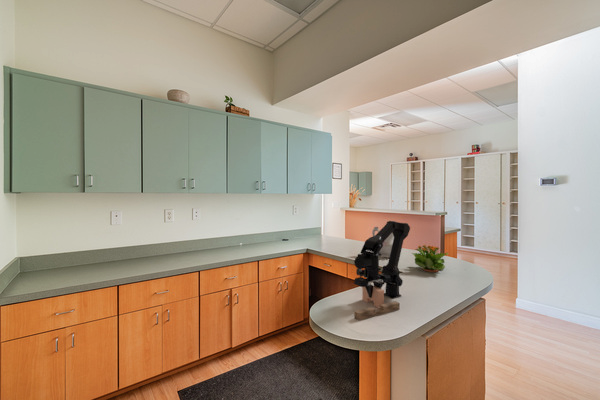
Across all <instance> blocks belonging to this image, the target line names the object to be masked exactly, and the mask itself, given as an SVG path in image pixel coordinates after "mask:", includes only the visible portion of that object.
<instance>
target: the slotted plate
mask: <svg viewBox="0 0 600 400" xmlns="http://www.w3.org/2000/svg"><path fill="white" fill-rule="evenodd" d="M361 288H362V289H361V291H362V293H361V294H362V295H361V296H362V300H363V301H364V302H366V303H369V302H373V306H375V308H377V309H379V308H380V305H382V304H385V295H384V293H385V290H384V289H382V288H381V289H380V288H377V287H375V286H374V285H373V292H372V297H371V298H369V295H368V293H367V290H366V288H365V287H361Z"/></svg>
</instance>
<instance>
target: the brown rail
mask: <svg viewBox="0 0 600 400" xmlns="http://www.w3.org/2000/svg"><path fill="white" fill-rule="evenodd" d="M398 310H400V302H398V301H397V300H395V301H391V302H387V303H384V304H382V305H380V308H374V307H372V306H370V307H366V308H361V309H357V310H355V311H354V316H353V317H354V319H355V320H356V321H361V320H365V319H369V318H373V317H376V316H380V315H384V314H388V313H392V312H394V311H398Z"/></svg>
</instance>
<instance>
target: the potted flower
mask: <svg viewBox="0 0 600 400" xmlns="http://www.w3.org/2000/svg"><path fill="white" fill-rule="evenodd" d="M439 249H440V248H439V246H438V247H437V246H434V245H426V244H423V245H422V246H421V245H418V246H417V248H416V249H414V250H415V251H418V252H415V253H414V252H412V255H413V256H414V257H415V258H414V263H415V265H416V266H417V267H419V268H421V269H423V271H425V272H428V273H437V272H438V271H443V270H444V269H445V268H446V265H445V263H446V262H445V259H444V258H443V257H444V256H446V255H449V252H440V253H439ZM437 252H438V253H437Z"/></svg>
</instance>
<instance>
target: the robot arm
mask: <svg viewBox="0 0 600 400" xmlns="http://www.w3.org/2000/svg"><path fill="white" fill-rule="evenodd" d="M410 231H411V226H410V225H409V223H408V222H398V221H395V220H388V221H387V222H386V224H385V225H384V226H383V227H382V228H381V229H380V230H379V232H378V231H377V233H375V236H373V235H372V236H370V237H368V239H366V240H365V242H364V244H363V245H362V248H361V250H360V253H358V254H357V256H356V257H355V258H354V261H353V263H354V266H355V267H356V275H357V276H359V277H356V278H354V283H353V285H356V286H358V287H361V288H362V287H365V288H366V290H367V293H368V295H369V298H371V297H372V292H373V286H375V287H377V288H380V289H382V287H383V286H384V285H385V292H384V296H387V297H389V298H391V299H395V298H399V297H402V294H400V287H401V286H402V285H403V282H404V280H403V279H402V278H401V277H400V275H401V272H400V269H399V267H398V265H399V262H400V257H401V254H402V250H403V245H404V240H405V239H406V238H407V237H408V236H409V233H410ZM391 233H393V236H394V240H393V244H392V248H391V253H390V257H388V262H387V264H386V265H383V266H382V269H381V268H380V264H379V263H380V257H381V253H380V252H379V251H380V250H381V248H382V247H383V242H384V241H385V240H386V239H387V237H388V236H389V235H390V234H391ZM380 271H381V272H380ZM363 277H364V278H363Z"/></svg>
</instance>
